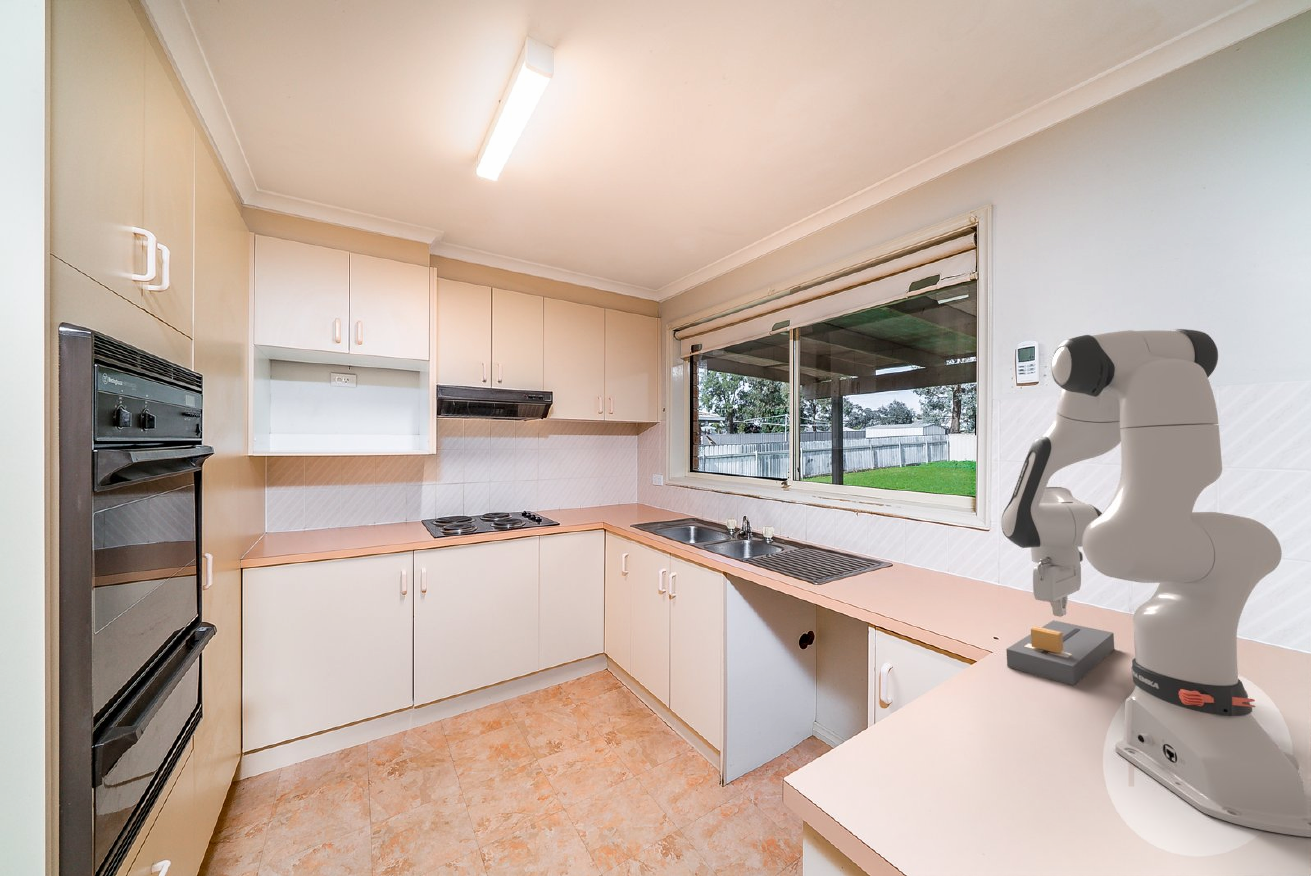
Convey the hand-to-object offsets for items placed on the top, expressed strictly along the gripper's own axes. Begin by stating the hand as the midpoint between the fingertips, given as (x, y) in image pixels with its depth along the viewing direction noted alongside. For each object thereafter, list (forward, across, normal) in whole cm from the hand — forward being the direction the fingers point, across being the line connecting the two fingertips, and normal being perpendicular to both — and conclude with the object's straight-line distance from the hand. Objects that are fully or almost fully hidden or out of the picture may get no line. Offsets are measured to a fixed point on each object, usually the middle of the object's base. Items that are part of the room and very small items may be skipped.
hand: (1059, 615), depth 114 cm
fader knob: (+6, -7, +1) cm, 9 cm away
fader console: (+11, +3, +1) cm, 11 cm away
